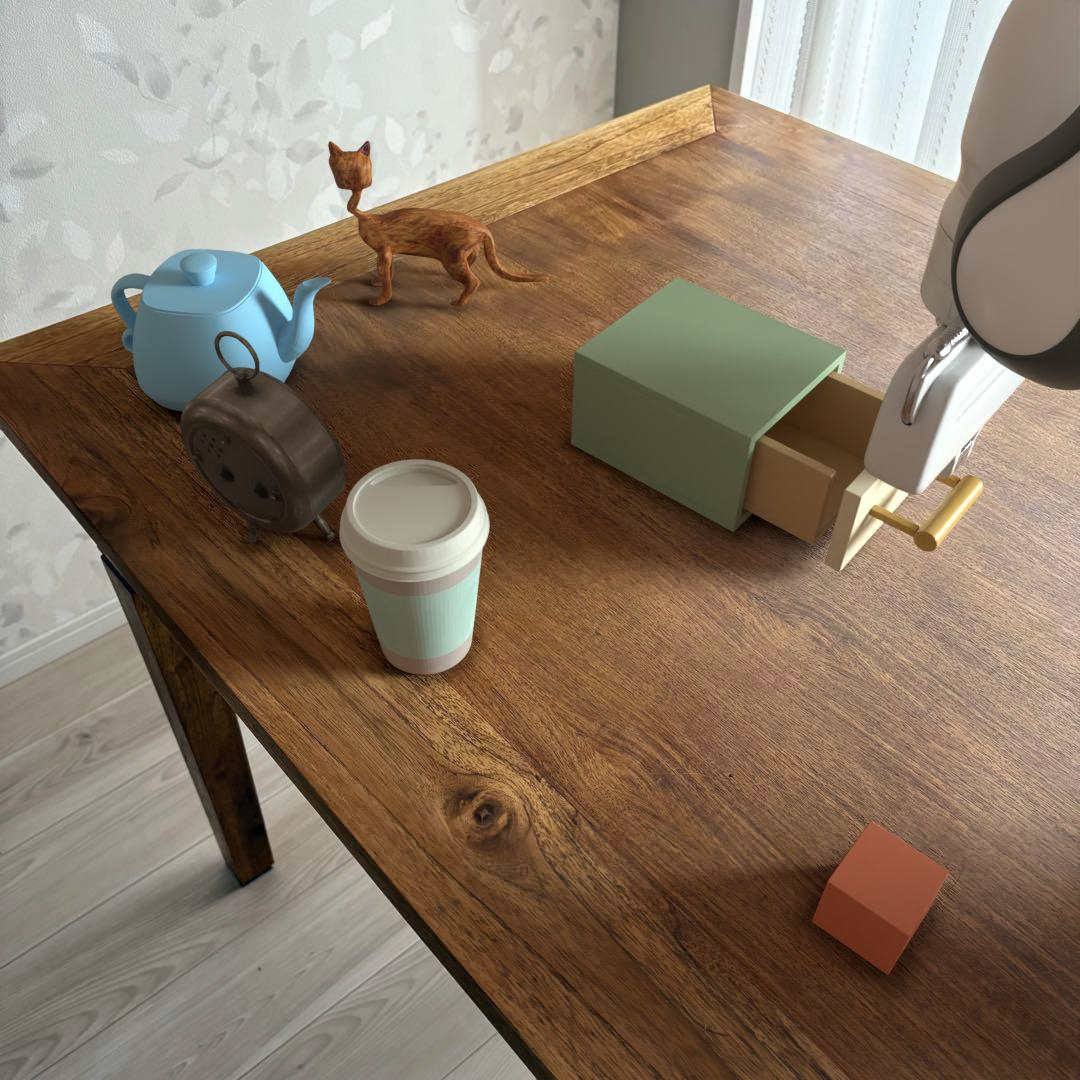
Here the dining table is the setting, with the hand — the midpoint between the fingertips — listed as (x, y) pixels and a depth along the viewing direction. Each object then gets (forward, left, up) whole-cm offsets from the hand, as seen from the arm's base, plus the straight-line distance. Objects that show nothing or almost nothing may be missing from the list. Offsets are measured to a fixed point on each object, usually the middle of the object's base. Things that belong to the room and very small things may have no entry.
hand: (945, 464), depth 71 cm
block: (+5, +28, -8) cm, 29 cm away
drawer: (+6, -3, -7) cm, 10 cm away
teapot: (+53, -11, -8) cm, 54 cm away
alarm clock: (+44, +5, -8) cm, 45 cm away
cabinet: (+16, -9, -8) cm, 19 cm away
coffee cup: (+32, +13, -8) cm, 35 cm away
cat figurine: (+39, -26, -8) cm, 47 cm away
